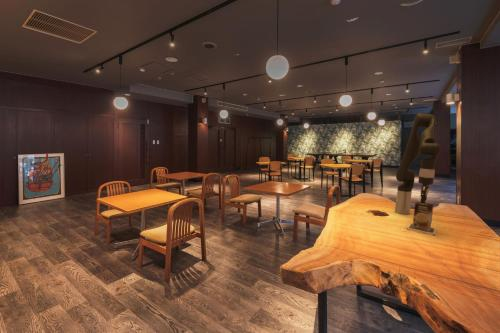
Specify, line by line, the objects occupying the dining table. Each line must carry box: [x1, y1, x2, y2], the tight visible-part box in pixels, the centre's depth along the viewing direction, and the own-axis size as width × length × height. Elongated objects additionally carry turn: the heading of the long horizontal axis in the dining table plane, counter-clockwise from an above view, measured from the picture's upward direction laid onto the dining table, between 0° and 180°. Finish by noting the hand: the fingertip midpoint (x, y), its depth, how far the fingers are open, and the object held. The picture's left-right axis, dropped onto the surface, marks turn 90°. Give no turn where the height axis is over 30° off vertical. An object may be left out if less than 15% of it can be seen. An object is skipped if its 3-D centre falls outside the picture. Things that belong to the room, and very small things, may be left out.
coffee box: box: [412, 201, 434, 232], centre depth 153 cm, size 9×6×16 cm
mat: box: [406, 222, 437, 236], centre depth 154 cm, size 14×12×1 cm
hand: (423, 201), depth 152 cm, fingers open, 8 cm apart
